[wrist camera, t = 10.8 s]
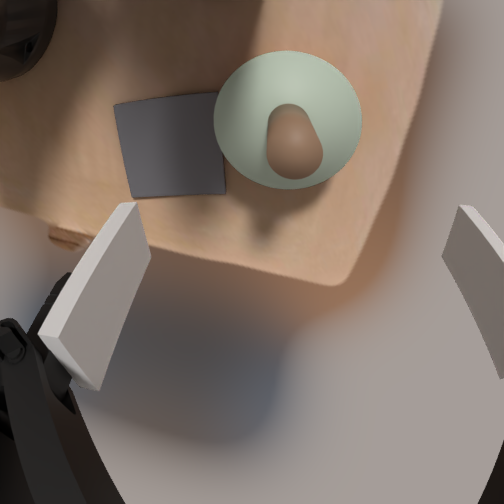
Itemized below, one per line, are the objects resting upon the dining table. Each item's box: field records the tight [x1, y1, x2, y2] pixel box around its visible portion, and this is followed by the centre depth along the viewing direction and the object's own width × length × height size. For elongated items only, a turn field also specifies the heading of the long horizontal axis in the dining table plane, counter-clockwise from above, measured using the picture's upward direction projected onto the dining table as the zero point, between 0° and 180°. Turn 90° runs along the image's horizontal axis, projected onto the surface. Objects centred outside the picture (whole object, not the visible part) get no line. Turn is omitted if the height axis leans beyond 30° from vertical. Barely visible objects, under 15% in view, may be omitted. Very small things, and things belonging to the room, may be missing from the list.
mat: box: [113, 92, 226, 197], centre depth 34 cm, size 12×12×1 cm
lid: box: [214, 51, 362, 190], centre depth 23 cm, size 13×13×10 cm
